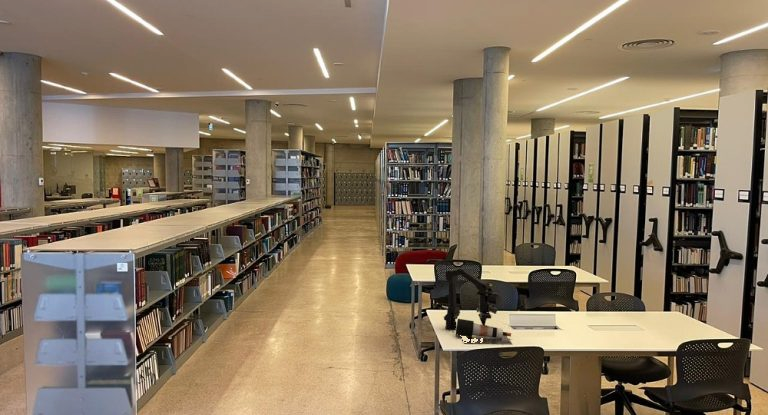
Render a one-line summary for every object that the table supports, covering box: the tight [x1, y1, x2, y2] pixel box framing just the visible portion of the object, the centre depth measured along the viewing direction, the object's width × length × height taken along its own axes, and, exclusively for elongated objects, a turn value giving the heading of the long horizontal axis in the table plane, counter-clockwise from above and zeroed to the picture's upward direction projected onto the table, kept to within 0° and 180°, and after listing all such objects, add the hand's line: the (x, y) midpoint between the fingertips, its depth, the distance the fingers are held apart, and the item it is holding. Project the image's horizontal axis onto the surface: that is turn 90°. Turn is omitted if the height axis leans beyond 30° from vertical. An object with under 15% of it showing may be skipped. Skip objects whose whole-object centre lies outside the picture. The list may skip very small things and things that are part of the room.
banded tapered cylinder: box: [455, 318, 512, 338], centre depth 341 cm, size 10×34×10 cm, turn 79°
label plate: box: [463, 335, 513, 346], centre depth 340 cm, size 30×26×1 cm
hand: (483, 326), depth 345 cm, fingers closed
